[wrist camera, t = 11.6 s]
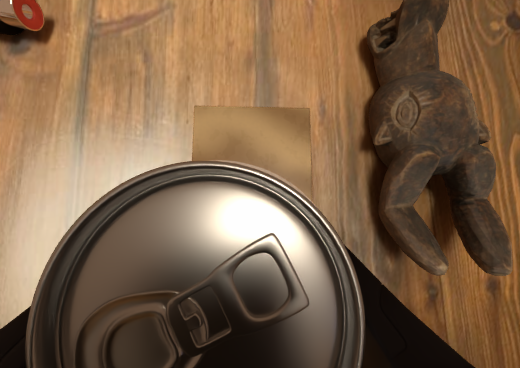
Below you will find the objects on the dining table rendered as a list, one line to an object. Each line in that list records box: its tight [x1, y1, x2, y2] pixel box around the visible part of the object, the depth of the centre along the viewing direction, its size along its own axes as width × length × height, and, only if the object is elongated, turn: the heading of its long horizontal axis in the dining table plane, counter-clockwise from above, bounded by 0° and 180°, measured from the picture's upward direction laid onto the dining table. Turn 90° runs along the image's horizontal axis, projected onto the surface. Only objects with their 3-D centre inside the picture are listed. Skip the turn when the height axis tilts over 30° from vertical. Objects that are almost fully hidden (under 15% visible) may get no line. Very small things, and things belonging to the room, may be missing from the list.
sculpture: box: [367, 0, 512, 276], centre depth 21 cm, size 10×26×7 cm, turn 3°
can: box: [25, 160, 365, 368], centre depth 10 cm, size 6×6×12 cm
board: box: [192, 106, 312, 201], centre depth 23 cm, size 14×12×1 cm
